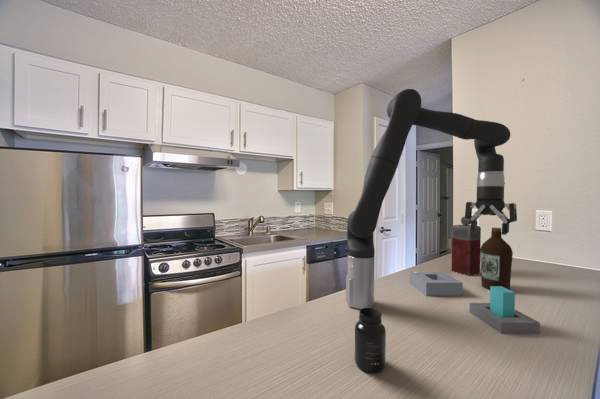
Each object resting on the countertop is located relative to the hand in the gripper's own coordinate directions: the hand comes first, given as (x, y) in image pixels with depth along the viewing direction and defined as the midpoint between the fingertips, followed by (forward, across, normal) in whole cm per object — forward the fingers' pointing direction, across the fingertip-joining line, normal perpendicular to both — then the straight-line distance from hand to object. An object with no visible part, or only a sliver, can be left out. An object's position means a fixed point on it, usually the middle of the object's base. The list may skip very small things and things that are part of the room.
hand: (489, 232), depth 88 cm
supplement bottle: (+26, -4, -57) cm, 63 cm away
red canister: (+26, -22, +39) cm, 52 cm away
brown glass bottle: (+26, -5, +24) cm, 36 cm away
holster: (+26, +6, -8) cm, 28 cm away
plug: (+26, +6, -8) cm, 28 cm away
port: (+26, -19, +2) cm, 32 cm away
